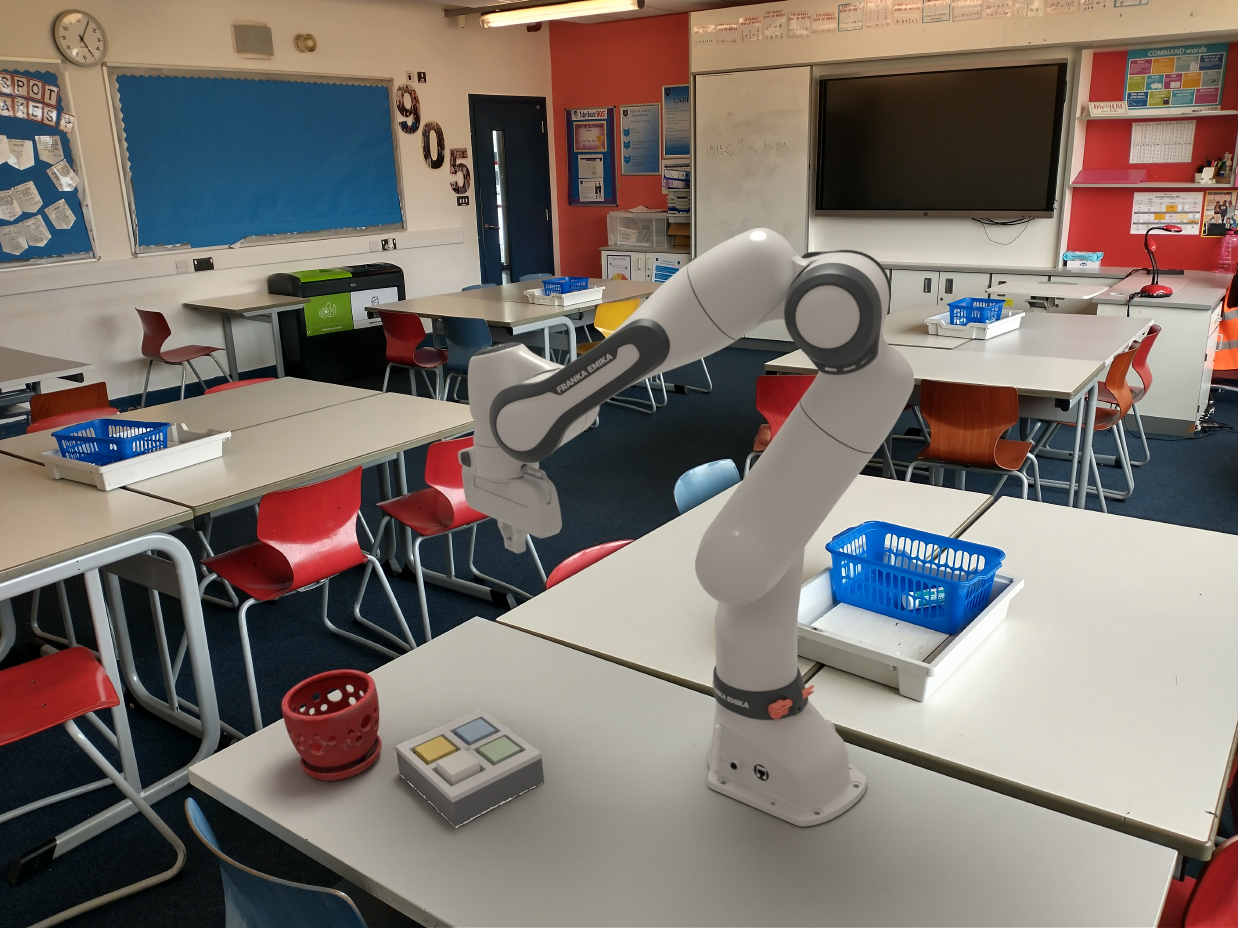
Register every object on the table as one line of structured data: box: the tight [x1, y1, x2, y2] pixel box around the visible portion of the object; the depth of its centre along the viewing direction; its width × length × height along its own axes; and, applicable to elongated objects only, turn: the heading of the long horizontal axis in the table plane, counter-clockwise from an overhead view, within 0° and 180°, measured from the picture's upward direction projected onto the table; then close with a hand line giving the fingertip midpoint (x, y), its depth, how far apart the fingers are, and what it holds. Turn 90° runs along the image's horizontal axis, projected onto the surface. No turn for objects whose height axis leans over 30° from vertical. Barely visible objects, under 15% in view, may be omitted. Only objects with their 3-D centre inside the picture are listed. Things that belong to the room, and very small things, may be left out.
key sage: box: [479, 737, 521, 766], centre depth 132 cm, size 4×4×3 cm
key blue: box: [455, 719, 496, 754], centre depth 137 cm, size 4×4×3 cm
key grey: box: [436, 749, 481, 787], centre depth 128 cm, size 4×4×3 cm
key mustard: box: [415, 736, 456, 774], centre depth 133 cm, size 4×4×3 cm
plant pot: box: [281, 669, 383, 781], centre depth 137 cm, size 13×13×12 cm
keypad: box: [394, 708, 545, 828], centre depth 133 cm, size 16×14×5 cm
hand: (515, 550), depth 137 cm, fingers closed
